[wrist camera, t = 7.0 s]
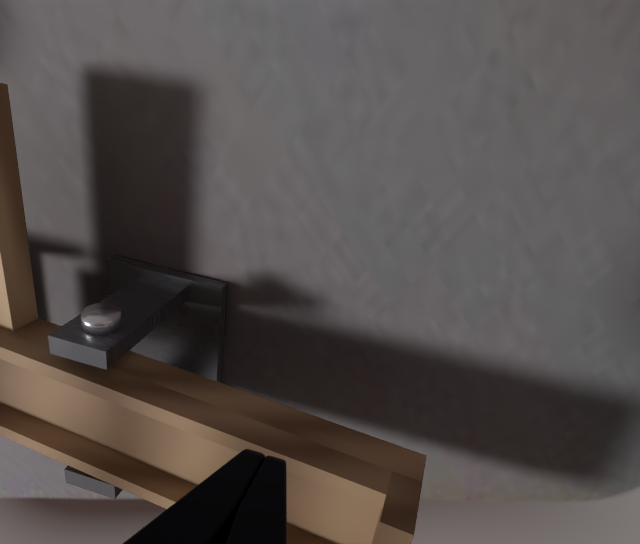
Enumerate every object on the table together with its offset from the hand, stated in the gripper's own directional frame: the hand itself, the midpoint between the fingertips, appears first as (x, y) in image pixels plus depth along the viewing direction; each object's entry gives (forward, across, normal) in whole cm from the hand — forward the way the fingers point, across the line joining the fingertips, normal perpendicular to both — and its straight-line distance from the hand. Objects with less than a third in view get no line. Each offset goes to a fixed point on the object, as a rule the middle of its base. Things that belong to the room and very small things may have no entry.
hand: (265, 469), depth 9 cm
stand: (+12, +9, +7) cm, 17 cm away
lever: (+7, +7, +2) cm, 10 cm away
